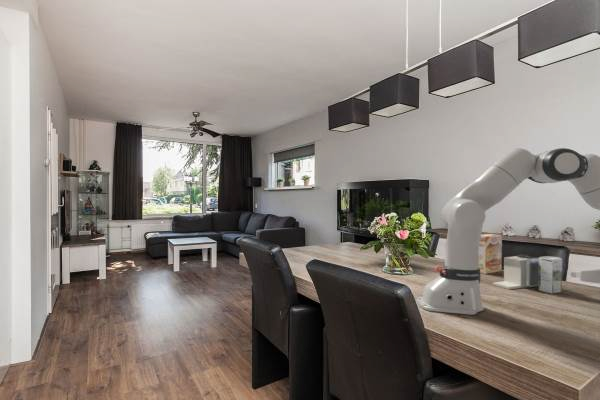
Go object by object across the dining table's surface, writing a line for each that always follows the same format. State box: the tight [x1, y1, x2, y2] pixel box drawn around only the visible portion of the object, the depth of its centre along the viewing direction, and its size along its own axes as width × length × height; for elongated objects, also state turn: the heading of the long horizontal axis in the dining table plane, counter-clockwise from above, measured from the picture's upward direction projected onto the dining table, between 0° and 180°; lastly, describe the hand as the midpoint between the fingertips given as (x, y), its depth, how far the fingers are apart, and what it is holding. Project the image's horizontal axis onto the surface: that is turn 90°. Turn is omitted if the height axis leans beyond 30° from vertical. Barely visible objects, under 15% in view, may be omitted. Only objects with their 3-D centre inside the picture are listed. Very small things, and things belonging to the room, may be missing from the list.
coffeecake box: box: [479, 233, 503, 275], centre depth 176 cm, size 15×7×20 cm, turn 119°
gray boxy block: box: [517, 253, 539, 285], centre depth 147 cm, size 10×12×11 cm
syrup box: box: [537, 255, 563, 295], centre depth 138 cm, size 6×6×14 cm
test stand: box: [492, 255, 539, 290], centre depth 149 cm, size 8×26×12 cm, turn 109°
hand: (579, 274), depth 126 cm, fingers open, 8 cm apart
